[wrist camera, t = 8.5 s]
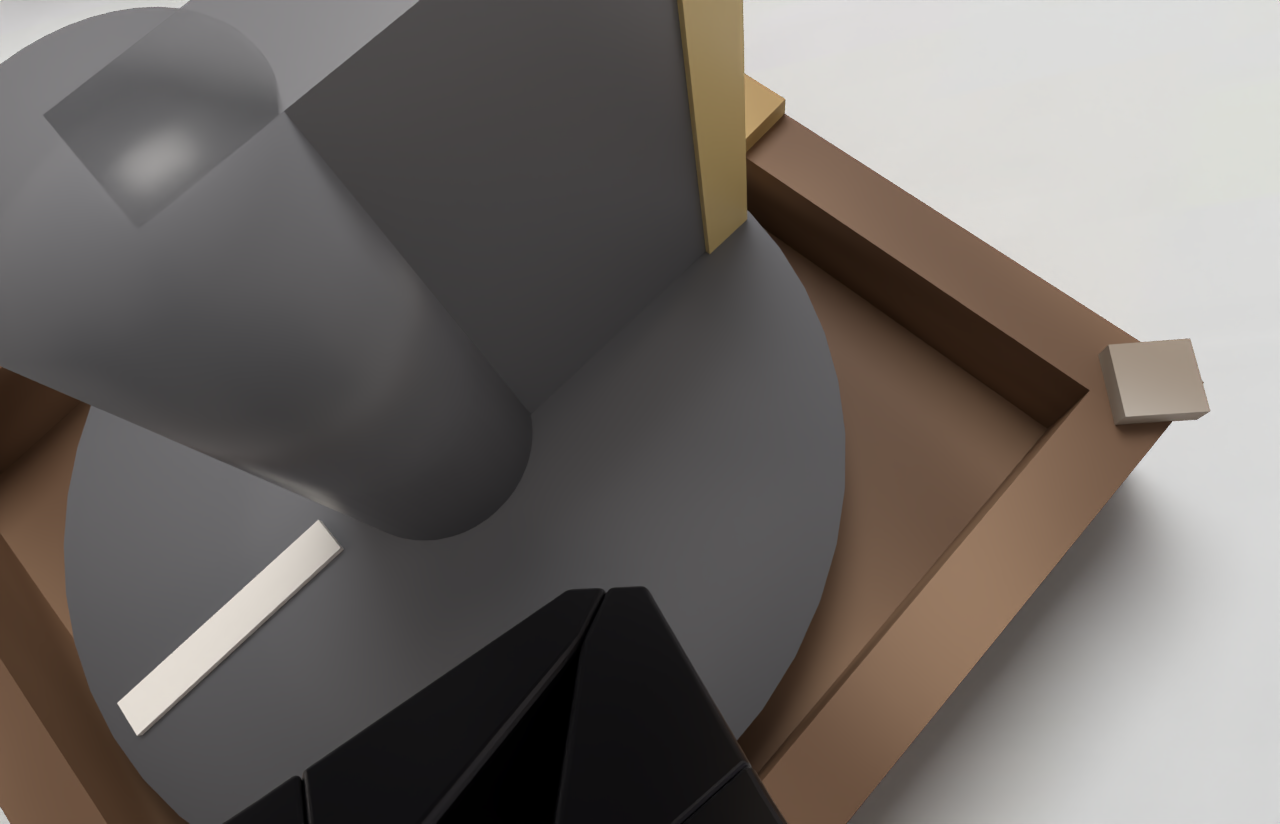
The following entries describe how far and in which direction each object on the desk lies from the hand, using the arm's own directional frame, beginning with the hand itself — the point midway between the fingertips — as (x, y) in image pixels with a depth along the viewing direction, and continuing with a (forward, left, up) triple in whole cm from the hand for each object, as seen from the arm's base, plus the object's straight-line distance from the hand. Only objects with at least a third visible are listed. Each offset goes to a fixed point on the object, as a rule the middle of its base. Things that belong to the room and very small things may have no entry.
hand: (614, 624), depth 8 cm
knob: (0, +6, -6) cm, 8 cm away
